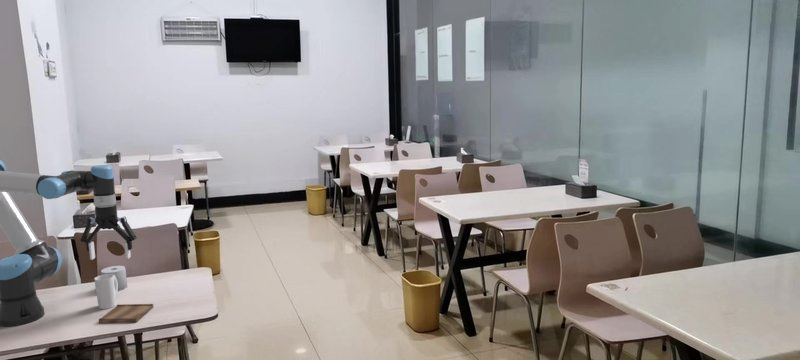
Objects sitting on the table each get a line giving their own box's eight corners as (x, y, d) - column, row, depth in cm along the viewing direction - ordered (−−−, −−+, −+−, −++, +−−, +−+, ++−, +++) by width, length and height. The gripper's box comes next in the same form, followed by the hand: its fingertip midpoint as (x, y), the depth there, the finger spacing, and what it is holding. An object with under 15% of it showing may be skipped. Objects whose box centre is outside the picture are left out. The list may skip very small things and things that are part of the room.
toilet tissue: (124, 280, 260) (122, 262, 258) (128, 289, 249) (126, 270, 247) (101, 284, 255) (99, 266, 254) (104, 293, 244) (102, 274, 242)
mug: (108, 310, 226) (104, 280, 224) (94, 308, 228) (90, 279, 226) (126, 300, 236) (123, 272, 234) (112, 299, 237) (109, 271, 235)
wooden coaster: (99, 323, 214) (98, 319, 213) (117, 308, 228) (117, 304, 227) (136, 322, 213) (136, 318, 213) (153, 307, 227) (152, 303, 227)
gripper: (67, 208, 220) (73, 262, 224) (135, 206, 222) (139, 260, 226) (76, 204, 228) (82, 256, 231) (142, 202, 229) (146, 254, 233)
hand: (110, 258), depth 228 cm, fingers open, 13 cm apart
